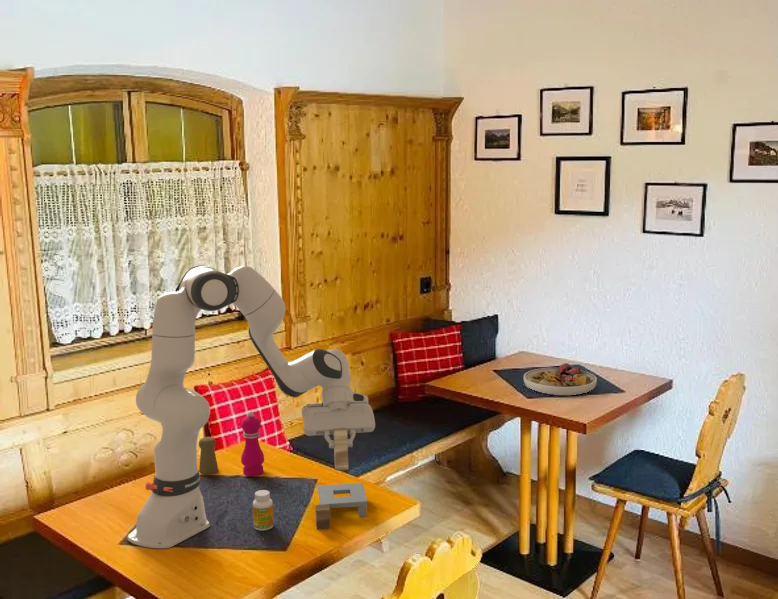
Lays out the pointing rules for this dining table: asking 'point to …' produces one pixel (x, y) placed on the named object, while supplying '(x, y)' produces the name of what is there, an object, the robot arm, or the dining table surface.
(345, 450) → the maple peg
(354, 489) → the collar stand
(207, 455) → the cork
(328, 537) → the dining table surface
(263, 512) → the supplement bottle
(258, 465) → the pepper mill
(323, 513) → the walnut peg
